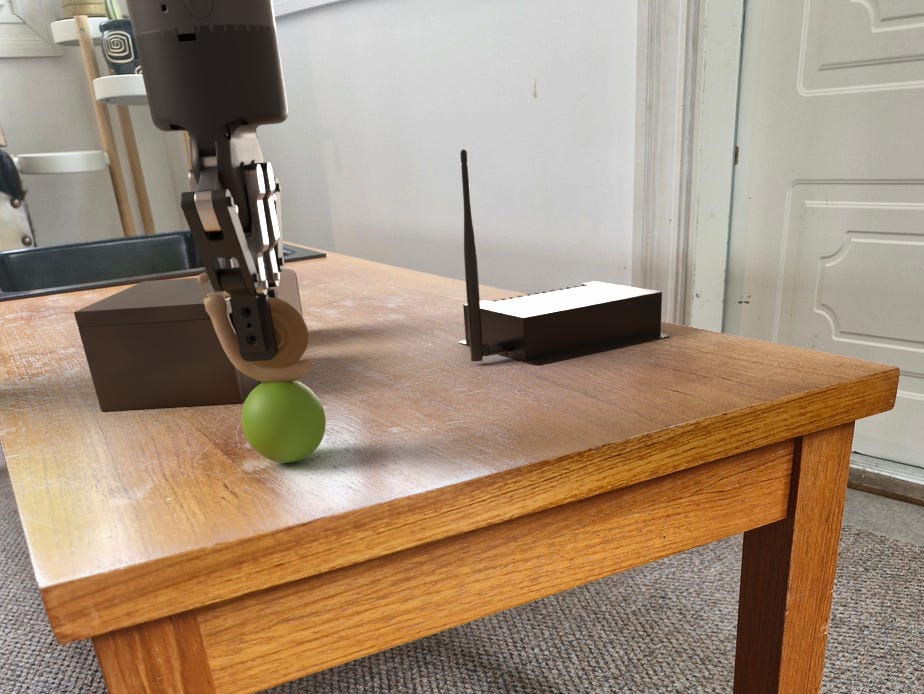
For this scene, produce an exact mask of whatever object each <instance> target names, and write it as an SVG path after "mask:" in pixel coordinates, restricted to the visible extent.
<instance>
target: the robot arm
mask: <svg viewBox="0 0 924 694" xmlns="http://www.w3.org/2000/svg"><path fill="white" fill-rule="evenodd" d="M125 1H126V5H127V11H128V14H129V20H130V24H131V28H132V29H131V30H132V33H133V38H134V44H135V47H136V51H137V56H138V61H139V66H140V70H141V71H140V72H141V75H142V79H143V84H144V88H145V95H146V98H147V102H148V103H147V104H148V108H149V112H150V113H149V114H150V117H151V121H152V123H153V125H154V126H155V127H156V129H158V130H160V131H162V132H187V135H188V137H189V143H188V144H189V150H190V165H191V168H189V170H188V181H189V186H190V191H182V192H181V193H180V208H181V210H182V212H183V215H184V219H185V220H186V223H187V225H188V228H189V231H190V234H191V236H192V239H193V241H194V243H195V245H196V249H197V252H198V254H199V256H200V258H201V261H202V264H203V266H204V270H205V273H207V274H208V277H209V279H210V282H211V285H212V287H213V289H214V291H215V292H223V294H224V296H225V298H231V299H230V304H231V309H232V314H233V320H234V325H235V330H236V335H237V340H238V345H239V350H240V355H241V357H242V358H243V359H244V360H245V361H249V362H250V361H266V360H272V359H273V358H274V357H275V356H276V355H277V352H278V349H277V343H276V337H275V331H274V326H273V320H272V314H271V308H270V303H269V297H271V298H278V294H277V289H273V287H278V286H279V281H280V274H279V272H283V268H284V266H285V259H284V247H283V245H284V243H283V225H282V222H283V221H282V200H281V199H282V198H281V192H282V186H281V183H280V182H279V179H278V177H277V176H274V172H273V168H272V165H271V162H270V161H269V162H268V161H265V159H264V155H263V152H262V149H261V148H262V147H261V145H260V141H259V136H258V134H257V129H258V127H260V126H265V125H266V126H267V125H268V126H269V125H277V124H282V123H284V122H285V121H286V120H287V118H288V116H289V106H288V99H287V92H286V91H287V90H286V85H285V79H284V72H283V66H282V65H283V64H282V59H281V54H280V53H281V52H280V46H279V39H278V32H277V31H278V30H277V25H276V18H275V17H276V16H275V11H274V3H273V0H125ZM230 257H232V262H233V266H234V268H232V266H231V260H230Z"/></svg>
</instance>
